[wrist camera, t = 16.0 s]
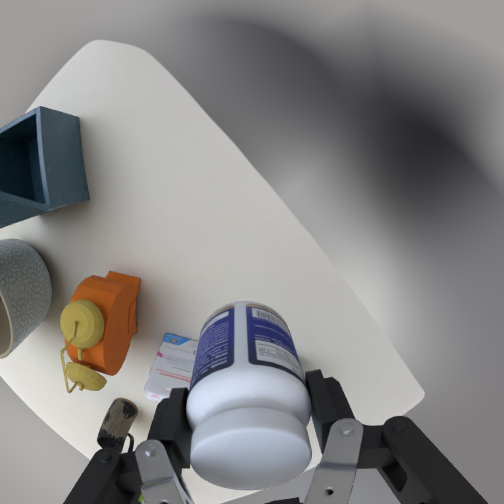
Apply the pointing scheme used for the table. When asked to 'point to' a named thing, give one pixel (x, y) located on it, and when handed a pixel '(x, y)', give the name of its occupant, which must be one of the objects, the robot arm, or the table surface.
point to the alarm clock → (99, 328)
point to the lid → (18, 209)
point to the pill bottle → (248, 401)
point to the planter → (21, 293)
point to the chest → (43, 159)
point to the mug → (117, 425)
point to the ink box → (171, 367)
